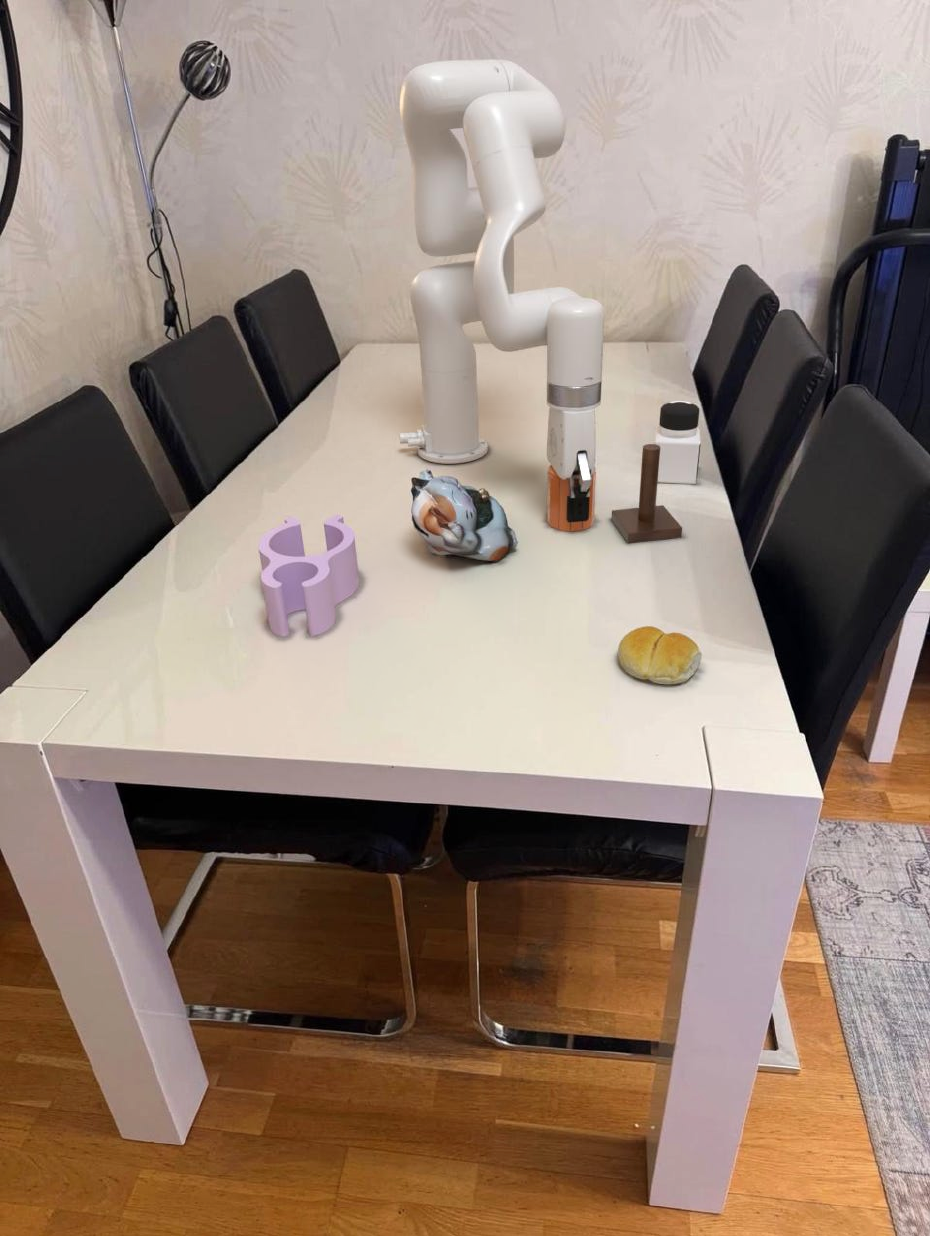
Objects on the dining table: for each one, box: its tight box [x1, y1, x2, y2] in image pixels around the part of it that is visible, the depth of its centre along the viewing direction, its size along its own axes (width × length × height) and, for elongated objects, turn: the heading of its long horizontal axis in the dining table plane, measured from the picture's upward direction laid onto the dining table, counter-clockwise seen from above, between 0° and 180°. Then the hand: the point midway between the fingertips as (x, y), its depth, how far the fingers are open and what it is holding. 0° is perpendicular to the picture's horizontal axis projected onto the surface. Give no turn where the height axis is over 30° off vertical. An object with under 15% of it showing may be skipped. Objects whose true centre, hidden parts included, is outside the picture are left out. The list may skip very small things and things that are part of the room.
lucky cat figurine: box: [410, 469, 519, 563], centre depth 124 cm, size 15×12×14 cm
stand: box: [610, 443, 683, 544], centre depth 128 cm, size 8×8×13 cm
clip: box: [257, 514, 360, 638], centre depth 117 cm, size 20×12×7 cm, turn 0°
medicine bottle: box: [653, 400, 702, 485], centre depth 145 cm, size 7×7×12 cm
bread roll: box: [618, 625, 703, 685], centre depth 101 cm, size 8×9×4 cm
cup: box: [546, 464, 597, 532], centre depth 132 cm, size 7×7×8 cm
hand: (570, 509), depth 134 cm, fingers closed on cup, 6 cm apart
